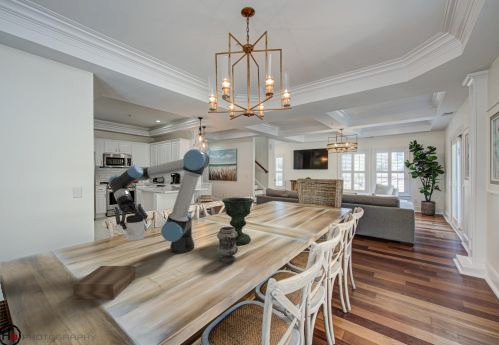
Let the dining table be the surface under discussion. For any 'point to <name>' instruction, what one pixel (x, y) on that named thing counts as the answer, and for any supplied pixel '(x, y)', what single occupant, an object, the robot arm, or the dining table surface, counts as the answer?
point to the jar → (135, 227)
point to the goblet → (238, 216)
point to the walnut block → (104, 282)
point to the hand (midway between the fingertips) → (138, 231)
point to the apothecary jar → (227, 244)
